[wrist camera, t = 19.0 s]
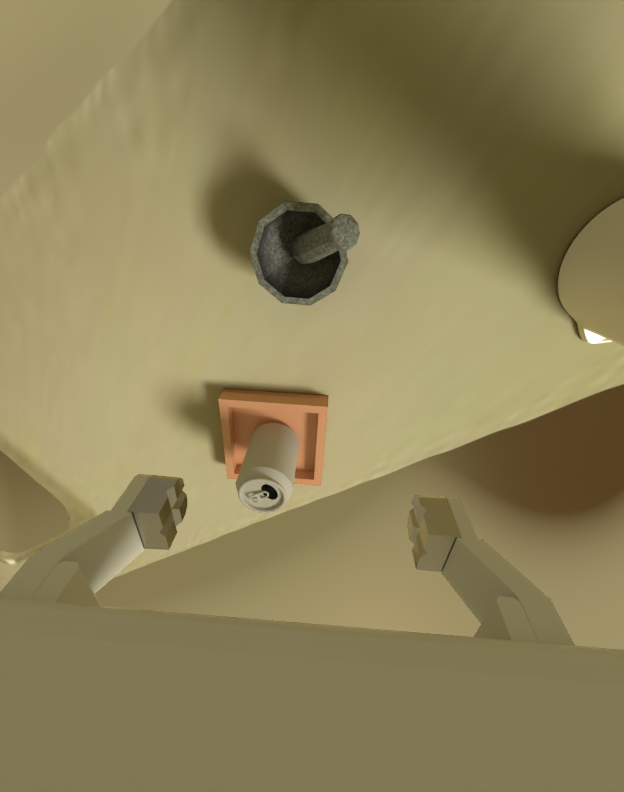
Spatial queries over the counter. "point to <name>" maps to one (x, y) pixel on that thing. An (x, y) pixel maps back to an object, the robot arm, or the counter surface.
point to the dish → (262, 407)
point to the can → (268, 468)
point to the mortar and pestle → (302, 251)
